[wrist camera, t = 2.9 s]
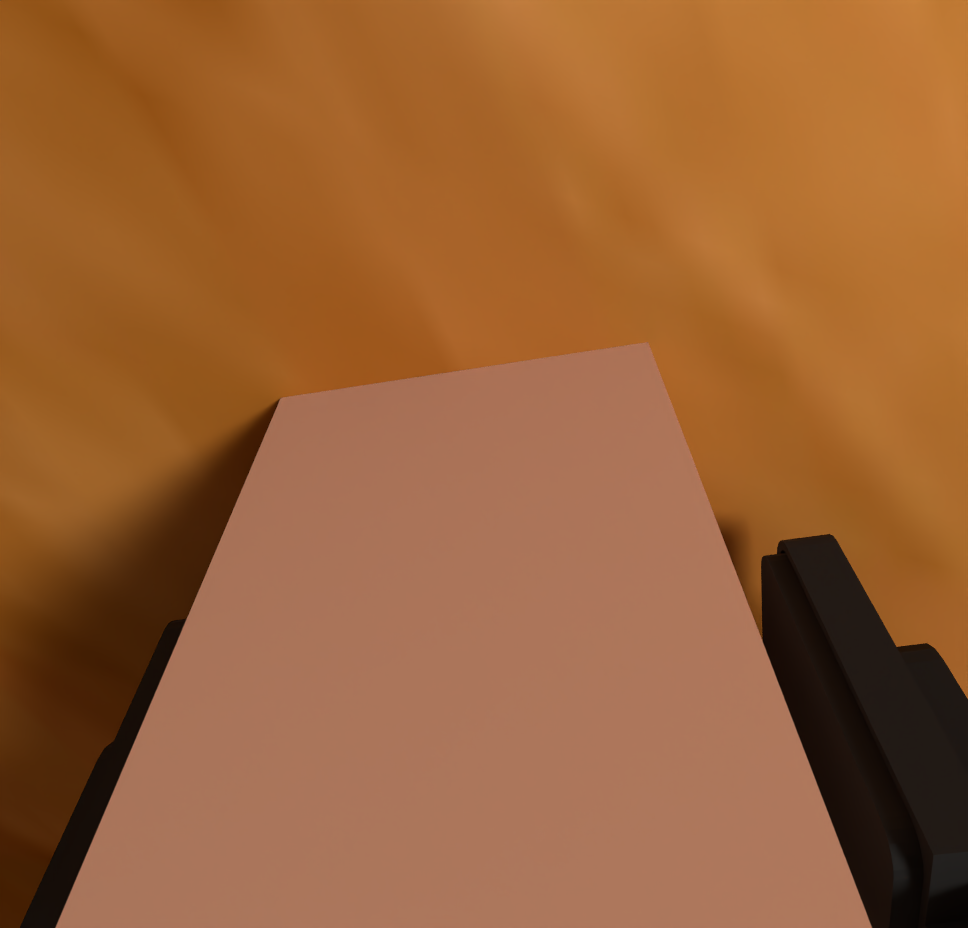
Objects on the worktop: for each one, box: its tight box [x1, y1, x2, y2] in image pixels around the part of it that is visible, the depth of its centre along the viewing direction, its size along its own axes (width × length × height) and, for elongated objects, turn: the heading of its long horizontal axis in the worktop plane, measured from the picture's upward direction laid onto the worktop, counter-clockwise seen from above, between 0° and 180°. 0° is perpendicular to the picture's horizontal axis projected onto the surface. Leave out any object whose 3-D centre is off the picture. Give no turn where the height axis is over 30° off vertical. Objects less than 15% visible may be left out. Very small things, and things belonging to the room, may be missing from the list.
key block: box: [56, 342, 872, 928], centre depth 9 cm, size 7×4×7 cm, turn 10°
